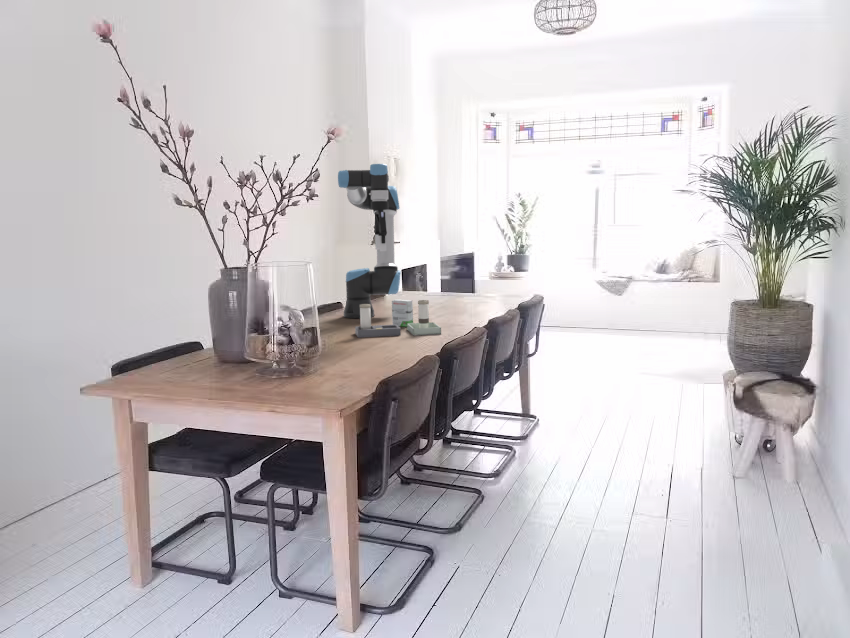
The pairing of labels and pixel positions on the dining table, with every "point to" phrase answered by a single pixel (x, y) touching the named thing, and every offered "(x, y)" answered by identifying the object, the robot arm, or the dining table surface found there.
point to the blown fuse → (423, 313)
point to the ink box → (402, 312)
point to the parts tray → (423, 329)
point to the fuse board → (378, 331)
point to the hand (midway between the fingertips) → (380, 250)
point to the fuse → (365, 316)
